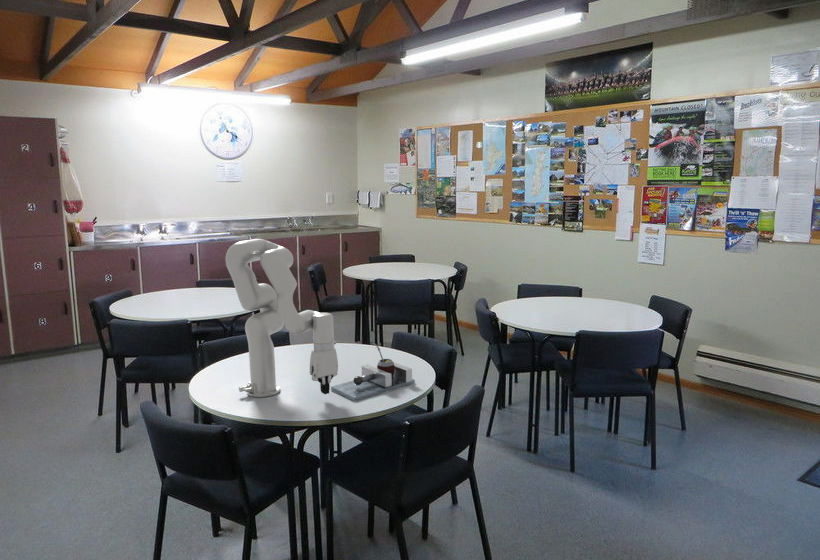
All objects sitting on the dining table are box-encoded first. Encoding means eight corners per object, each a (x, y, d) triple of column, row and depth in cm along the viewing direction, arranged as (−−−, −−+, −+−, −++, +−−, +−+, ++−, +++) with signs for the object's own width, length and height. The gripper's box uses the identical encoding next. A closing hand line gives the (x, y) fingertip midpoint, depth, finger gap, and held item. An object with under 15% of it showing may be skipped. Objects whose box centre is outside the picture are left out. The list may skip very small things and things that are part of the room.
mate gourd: (396, 381, 234) (396, 345, 232) (377, 383, 232) (377, 347, 229) (391, 375, 241) (391, 340, 239) (373, 377, 239) (372, 342, 236)
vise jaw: (366, 393, 220) (366, 381, 219) (342, 382, 232) (342, 370, 231) (391, 385, 228) (391, 374, 227) (367, 375, 240) (367, 364, 239)
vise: (354, 401, 217) (353, 384, 216) (331, 390, 229) (330, 374, 228) (414, 383, 236) (414, 368, 235) (390, 373, 248) (390, 359, 247)
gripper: (335, 340, 222) (336, 385, 225) (301, 347, 213) (302, 395, 216) (346, 344, 217) (347, 391, 220) (311, 352, 207) (313, 400, 210)
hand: (325, 392), depth 218 cm, fingers closed
